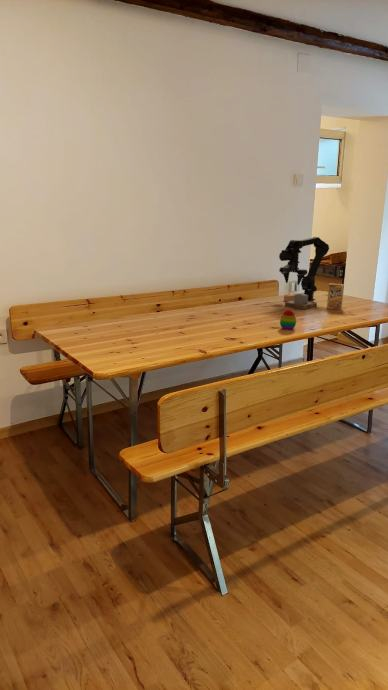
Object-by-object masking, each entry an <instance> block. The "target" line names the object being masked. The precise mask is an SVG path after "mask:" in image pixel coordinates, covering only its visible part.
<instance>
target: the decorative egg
mask: <svg viewBox="0 0 388 690" xmlns="http://www.w3.org/2000/svg"><path fill="white" fill-rule="evenodd" d="M296 317H297V316H296V315H295V313H294V312H293V310H291V309H286V310H285V311H283V313H282V314H281V316H280V320H279V324H280V326H281V327H280V328H282V329H283V330H287V331H291V330H294V329H295V327H296V324H297V318H296Z"/></svg>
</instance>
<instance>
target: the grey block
mask: <svg viewBox="0 0 388 690" xmlns="http://www.w3.org/2000/svg"><path fill="white" fill-rule="evenodd" d="M294 295H295V296H294V303H299V304H305V303H308V302H309V301H308V295H305V294H304V293H297V294H294Z"/></svg>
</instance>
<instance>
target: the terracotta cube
mask: <svg viewBox="0 0 388 690" xmlns="http://www.w3.org/2000/svg"><path fill="white" fill-rule="evenodd" d="M295 295H296V294H294V295H293V294H290V293H289V294H284V295H283V301H284V302H289V301H294V296H295Z"/></svg>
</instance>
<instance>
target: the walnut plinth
mask: <svg viewBox="0 0 388 690" xmlns="http://www.w3.org/2000/svg"><path fill="white" fill-rule="evenodd" d="M317 304H318V303H317V302H314V301H313V302H312V301H308V303H305V304H299V303H294V301H289V302H288V301H284V307H287V308H293V309H297V310H301V311H304V310H311V309H313V308H314V309H315V308H317V306H318V305H317Z"/></svg>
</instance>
